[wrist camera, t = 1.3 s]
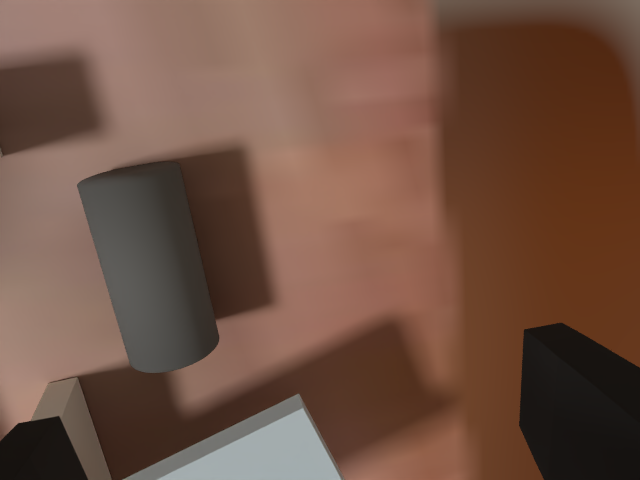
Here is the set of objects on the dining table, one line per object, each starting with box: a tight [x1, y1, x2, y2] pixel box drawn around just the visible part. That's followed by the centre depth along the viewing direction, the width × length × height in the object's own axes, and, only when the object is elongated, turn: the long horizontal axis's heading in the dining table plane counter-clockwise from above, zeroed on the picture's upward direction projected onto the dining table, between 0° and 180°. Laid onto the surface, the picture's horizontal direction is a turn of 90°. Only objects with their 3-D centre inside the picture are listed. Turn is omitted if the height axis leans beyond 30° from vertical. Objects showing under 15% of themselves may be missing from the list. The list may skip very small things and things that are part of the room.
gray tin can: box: [77, 162, 219, 373], centre depth 18 cm, size 6×3×3 cm
